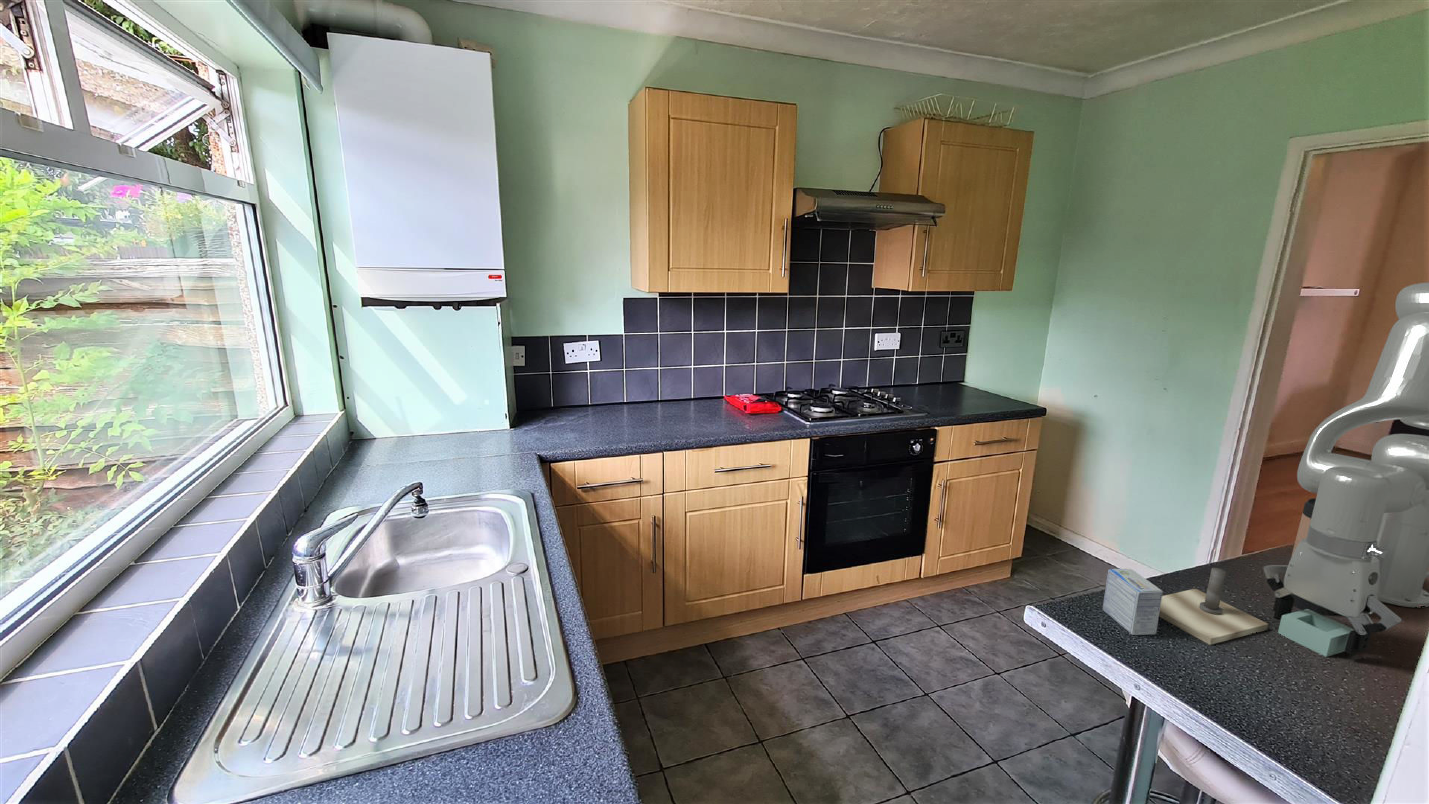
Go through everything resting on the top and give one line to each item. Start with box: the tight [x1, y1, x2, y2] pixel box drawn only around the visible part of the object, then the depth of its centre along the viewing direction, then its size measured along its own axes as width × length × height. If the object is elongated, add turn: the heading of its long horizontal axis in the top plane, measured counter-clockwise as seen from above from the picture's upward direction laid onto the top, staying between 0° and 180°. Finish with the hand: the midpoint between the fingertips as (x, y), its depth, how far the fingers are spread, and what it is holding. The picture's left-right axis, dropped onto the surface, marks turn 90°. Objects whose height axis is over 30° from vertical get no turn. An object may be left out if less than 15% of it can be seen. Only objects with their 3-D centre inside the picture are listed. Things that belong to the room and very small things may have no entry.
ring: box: [1277, 609, 1355, 658], centre depth 98 cm, size 7×7×4 cm
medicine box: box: [1102, 568, 1163, 636], centre depth 103 cm, size 8×4×9 cm, turn 0°
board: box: [1159, 567, 1269, 646], centre depth 104 cm, size 14×12×9 cm
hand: (1315, 634), depth 98 cm, fingers open, 9 cm apart
